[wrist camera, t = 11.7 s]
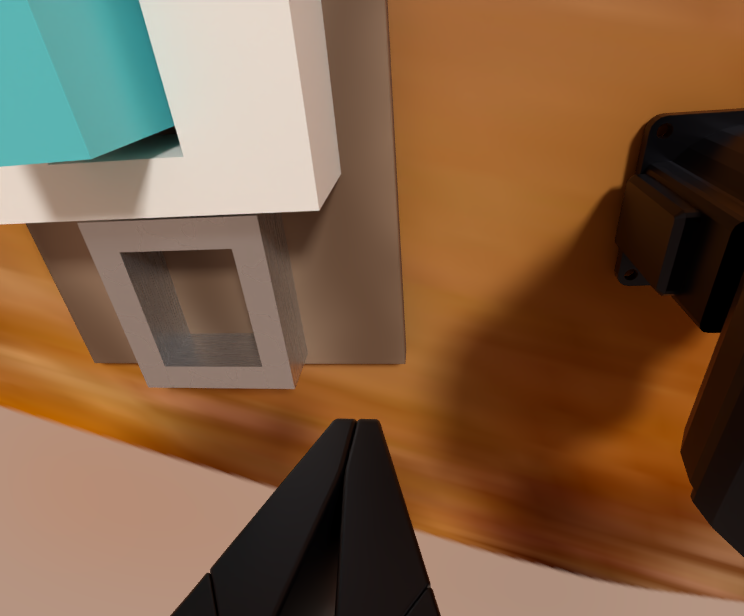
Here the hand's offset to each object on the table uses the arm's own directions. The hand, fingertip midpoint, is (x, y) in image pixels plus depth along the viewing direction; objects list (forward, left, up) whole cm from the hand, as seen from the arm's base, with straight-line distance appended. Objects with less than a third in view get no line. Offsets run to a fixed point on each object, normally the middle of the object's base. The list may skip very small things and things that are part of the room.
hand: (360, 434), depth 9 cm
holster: (+8, +3, -11) cm, 14 cm away
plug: (+8, -6, -11) cm, 15 cm away
